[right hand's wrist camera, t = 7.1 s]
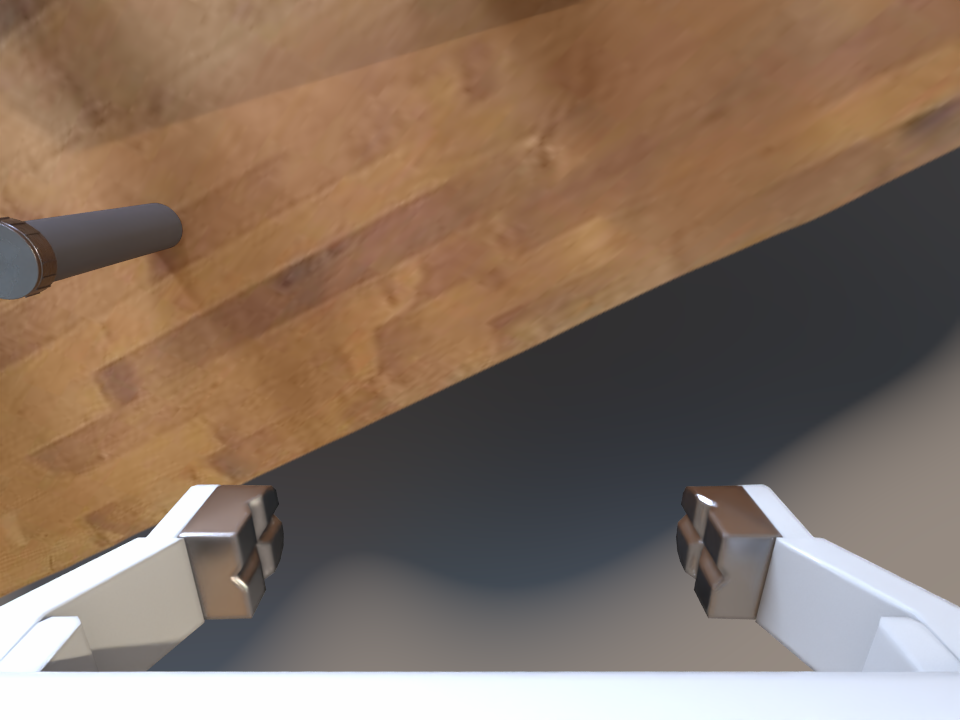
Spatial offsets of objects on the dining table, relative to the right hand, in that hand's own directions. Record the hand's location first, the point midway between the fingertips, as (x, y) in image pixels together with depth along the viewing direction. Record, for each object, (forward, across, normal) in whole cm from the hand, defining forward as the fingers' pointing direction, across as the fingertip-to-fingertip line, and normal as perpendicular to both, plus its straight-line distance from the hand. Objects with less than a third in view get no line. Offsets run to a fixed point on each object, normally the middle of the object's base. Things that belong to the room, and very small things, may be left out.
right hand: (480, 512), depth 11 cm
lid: (+28, +34, 0) cm, 44 cm away
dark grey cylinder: (+48, +34, 0) cm, 59 cm away
